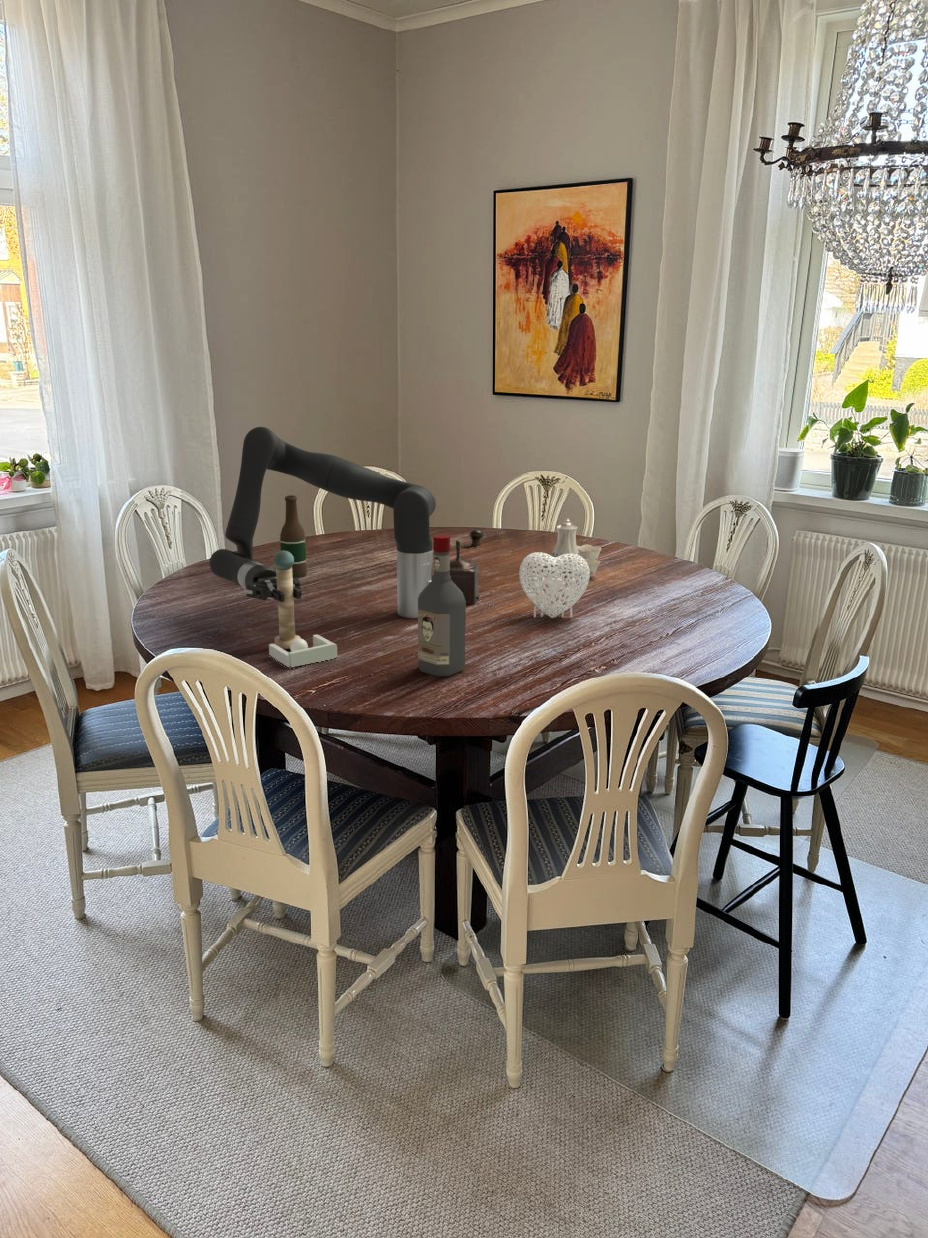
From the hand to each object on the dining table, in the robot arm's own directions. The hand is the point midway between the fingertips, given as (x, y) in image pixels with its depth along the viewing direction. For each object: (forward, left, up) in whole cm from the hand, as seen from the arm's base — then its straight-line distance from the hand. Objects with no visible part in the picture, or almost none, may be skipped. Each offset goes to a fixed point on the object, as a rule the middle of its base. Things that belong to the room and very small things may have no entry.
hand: (291, 596), depth 213 cm
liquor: (-35, +9, -14) cm, 39 cm away
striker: (+2, -2, -12) cm, 13 cm away
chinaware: (-70, -81, -14) cm, 108 cm away
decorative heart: (-61, -31, -14) cm, 70 cm away
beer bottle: (+15, -66, -14) cm, 69 cm away
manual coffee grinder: (-36, -48, -14) cm, 62 cm away
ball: (-2, +2, -11) cm, 12 cm away
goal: (-3, +4, -13) cm, 14 cm away
